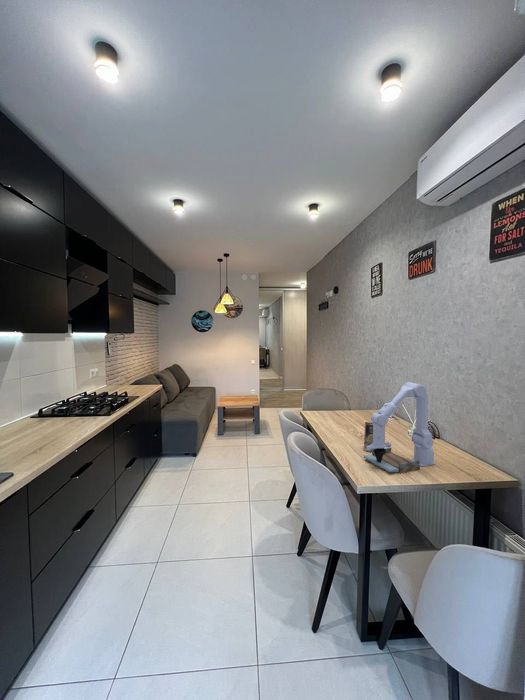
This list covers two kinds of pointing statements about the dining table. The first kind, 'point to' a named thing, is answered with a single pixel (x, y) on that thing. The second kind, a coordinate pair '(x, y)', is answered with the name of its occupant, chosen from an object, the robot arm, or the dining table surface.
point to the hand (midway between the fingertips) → (378, 462)
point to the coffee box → (368, 435)
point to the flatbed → (399, 461)
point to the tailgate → (382, 464)
